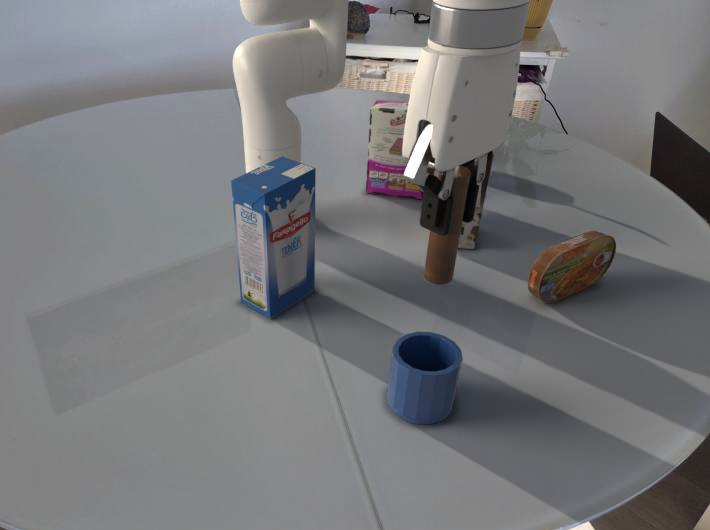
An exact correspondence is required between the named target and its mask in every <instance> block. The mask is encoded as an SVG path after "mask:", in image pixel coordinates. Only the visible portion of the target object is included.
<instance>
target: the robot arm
mask: <svg viewBox="0 0 710 530" xmlns="http://www.w3.org/2000/svg"><path fill="white" fill-rule="evenodd" d="M349 1H350V0H239V5H240V9H241V14H242V15H243V17H244V19H245V21H246V22H248V23H249V24H252V25H254V26H261V27H262V26H263V27H265V26H276V25H285V24H291V23H297V22H304V21H309V26H308V27H304V28H303V27H302V28H297V29H291V30H290V29H289V30H287V29H286V30H281V31H275V32H268V33H262V34H258V35H254V36H251V37H249V38H247V39H245V40H243V41H242V42H241V43H240V44H238V46H237V47H236V48H235V50H234V52H233V56H232V71H233V76H234V77H233V78H234V81H235V86H236V91H237V95H238V99H239V106H240V112H241V121H242V133H243V146H244V147H243V149H244V161H245V163H244V164H245V174H246V173H248V172H250V171H252V170H254V169H256V168H259V167H261V166H263V165H265V164H267V163H269V162H271V161H273V160H275V159H278V158H280V157H285V158H288V159H291V160H294V161H297V162H299V163H302V127H301V122H300V120H299V117H298V116H297V115H296V114H295V112H294V111H293V110H291V108H289V106H288V105H287V101H288V100H290V99H293V98H297V97H301V96H307V95H314V94H318V93H324V92H328V91H330V90H333V89H335V88H336V87H337V86H338V85H340V83H341V82H342V79H343V77H344V73H345V70H346V69H345V68H346V62H347V61H346V58H347V44H348V43H347V40H348V22H349ZM530 3H531V0H431V9H430V19H429V29H428V36H427V45H426V46H424V47H422V48H421V51H420V55H419V58H418V61H417V64H416V68H415V72H414V74H413V80H412V84H411V89H410V93H409V99H408V102H409V104H408V109H407V115H406V122H405V129H404V137H403V147H402V154H403V157H404V158H405V159H408V160H410V161H409V163H408V165H407V168H406V170H405V173H404V179H405V180H407V181H409V182H412V183H414V184H417V185H418V186H419V187H420V191H422V192H423V199H421V208H420V217H419V225H420V227H422V228H423V229H426V230H428V231H429V232H430V231H432V232H435V233H437V234H439V235H441V236H444V235H446V234H448V232H449V227H450V220H451V214H452V208H453V201H454V198H453V197H450V196H449V195H450V193H451V188H452V183H453V179H454V174H455V169H456V167H457V166H463V167H466V168H468V169H469V170H470V171H471V175H470V181H469V187H468V193H467V198H466V204H465V210H464V216H463V222H466V223H469V222H471V221H473V218H474V213H475V207H476V202H477V196H478V191H479V185H477V183H478V184H480V183H481V182H482V181H483V180H484V177H485V171H486V166H487V165H488V163H489V161H490V160H491V159H492V156H493V154H495V153H496V152H497V151H498V150H499V149H500V148H501V146H503V144H504V142H505V141H506V140H507V136H508V133H509V131H510V127H511V122H512V118H513V112H514V108H515V102H516V95H517V90H518V81H519V72H520V64H521V63H520V62H521V47H522V43H523V39H524V33H525V28H526V24H527V19H528V13H529V9H530ZM436 171H437V172H438V171H439V172H442V176H441V181H440V180H439V179H438V178H437V176H438V175H435V172H436Z"/></svg>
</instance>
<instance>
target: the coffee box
mask: <svg viewBox="0 0 710 530" xmlns="http://www.w3.org/2000/svg"><path fill="white" fill-rule="evenodd" d="M494 154H495V153H494ZM494 154H493V156H492V159H491V160H490V161H489V163H488V165H487V166H486V171H485V177H484V180H483V181H482V182H481V183H480V184H478V183H477V185H479V191H478V196H477V202H476V207H475V213H474V218H473V221H471V222H469V223H466V222H462V227H461V233H460V239H459V245H458V249H465V250H474V249H475V248H476V244H477V239H478V235H479V229H480V225H481V220H482V214H483V209H484V204H485V201H486V200H485V199H486V196H487V195H486V194H487V191H488V190H487V189H488V186H489V180H490V176H491V170H492V166H493V162H494V161H493V160H494V158H495V155H494Z"/></svg>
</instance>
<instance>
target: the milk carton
mask: <svg viewBox="0 0 710 530" xmlns="http://www.w3.org/2000/svg"><path fill="white" fill-rule="evenodd" d="M316 170H317V168H316V167H314V166H311V165H308V164H306V163H302V162H301V163H299V162H297V161H294V160H291V159H288V158H285V157H280V158H278V159H275V160H273V161H271V162H269V163H267V164H265V165H263V166H261V167H259V168H256V169H254V170H252V171H250V172H248V173H246V172H245V173H243V174H242V175H240V176H238V177H235V178H232V180H230V184H231V196H232V208H233V210H232V211H233V221H234V232H235V244H236V246H235V247H236V257H237V268H238V269H237V271H238V281H239V293H240V303H241V304H242V305H244V306H246V307H248V308H250V309H251V310H253V311H254V312H256V313H259V314H260V315H262V316H263V317H265V318H267V319H269V320H271V319H273V318H274V317H277V316H278V315H279V314H281V313H282V312H283V311H285V310H287V309H288V308H290V307H291V306H293V305H294V304H296V303H298V302H299V301H301V300H302V299H304V298H305V297H307V296H309V294H311V293H313V292H314V291H315V290H316V289H315V283H316V282H315V281H316V280H315V279H316V271H315V270H316V269H315V268H316V177H317V175H316V174H317V173H316V172H317V171H316Z"/></svg>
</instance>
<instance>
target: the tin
mask: <svg viewBox="0 0 710 530" xmlns="http://www.w3.org/2000/svg"><path fill="white" fill-rule="evenodd" d="M616 251H617V242H616V239H615V238H614V237H613V236H611V235H608V234H605V233H602V232H599V231H598V230H597V231H596V230H590V231H586V232H583V233H581V234H579V235H575V236H574V237H571V238H569V239H568V238H567V239H566V240H563V241H561V242H558V243H555V244H553V245H551V246H549V247H547V248H546V249H545V250H543V251H542V252H541V253H540V254H539V255H538V257H536V259H535V261H534V262H533V263H532V265H531V267H530V271H529V275H528V280H527V290H528V292H529V293H530V294H531V296H533V297H535V298H537V299H539V300H540V301H541V302H542V303H545V304H553V303H556V302H558V301H560V300H563V299H565V298H567V297H570V296H571V295H574V294H577V293H579V292H581V291H584V290H585V289H588V288H590V287H591V286H593V285H595V284H597V283H598V282H599V281H600V280H601V279H602V278H603V277H604V275H605V274H606V273H607V271H608V270H609V269H610V268H611V265H612V263H613V260H614V258H615V257H616V256H615V255H616Z"/></svg>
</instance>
